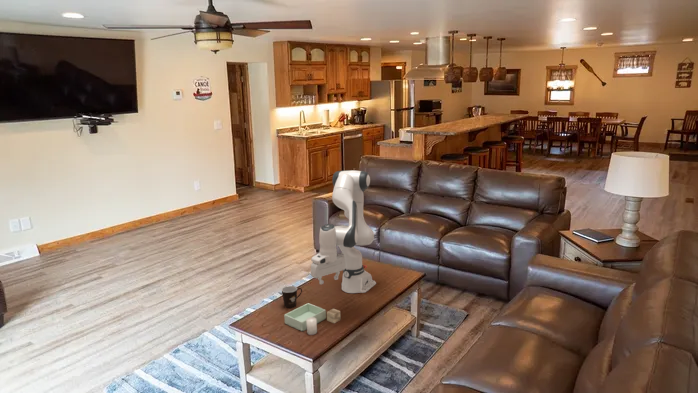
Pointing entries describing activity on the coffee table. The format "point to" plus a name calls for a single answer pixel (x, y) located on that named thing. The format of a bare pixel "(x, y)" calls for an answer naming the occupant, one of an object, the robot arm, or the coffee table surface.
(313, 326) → the ceramic cylinder
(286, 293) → the coffee mug
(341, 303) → the coffee table surface
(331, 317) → the beech cube
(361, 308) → the coffee table surface
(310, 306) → the tray
